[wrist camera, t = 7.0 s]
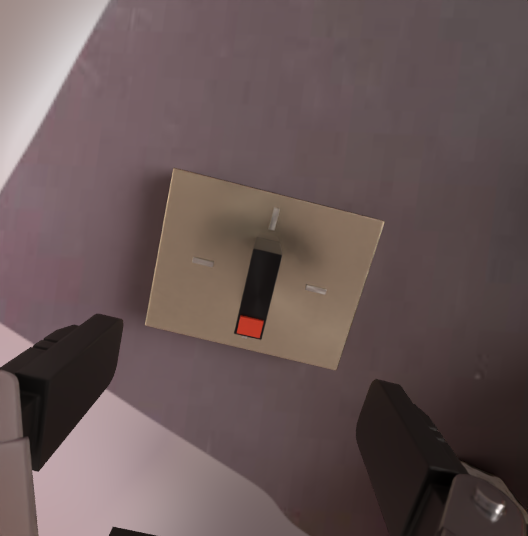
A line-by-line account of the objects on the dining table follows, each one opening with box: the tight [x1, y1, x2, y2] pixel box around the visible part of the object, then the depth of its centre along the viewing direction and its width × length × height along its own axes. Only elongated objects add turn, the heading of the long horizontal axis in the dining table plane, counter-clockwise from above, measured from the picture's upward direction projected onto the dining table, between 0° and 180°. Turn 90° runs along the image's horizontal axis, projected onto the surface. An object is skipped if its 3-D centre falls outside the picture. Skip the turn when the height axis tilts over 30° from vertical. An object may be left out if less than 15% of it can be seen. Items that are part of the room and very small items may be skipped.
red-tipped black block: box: [234, 237, 282, 340], centre depth 21 cm, size 5×2×5 cm, turn 167°
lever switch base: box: [145, 168, 384, 370], centre depth 25 cm, size 14×11×3 cm
